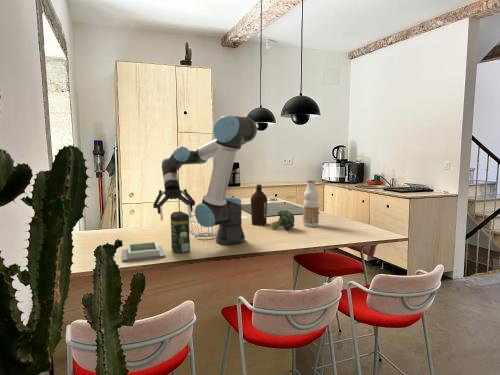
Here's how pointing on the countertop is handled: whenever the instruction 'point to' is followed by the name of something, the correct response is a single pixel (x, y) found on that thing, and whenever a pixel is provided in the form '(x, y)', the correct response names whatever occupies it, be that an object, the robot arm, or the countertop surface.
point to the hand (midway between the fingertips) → (176, 217)
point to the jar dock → (142, 251)
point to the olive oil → (259, 207)
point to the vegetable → (284, 220)
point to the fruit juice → (311, 205)
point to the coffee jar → (180, 232)
